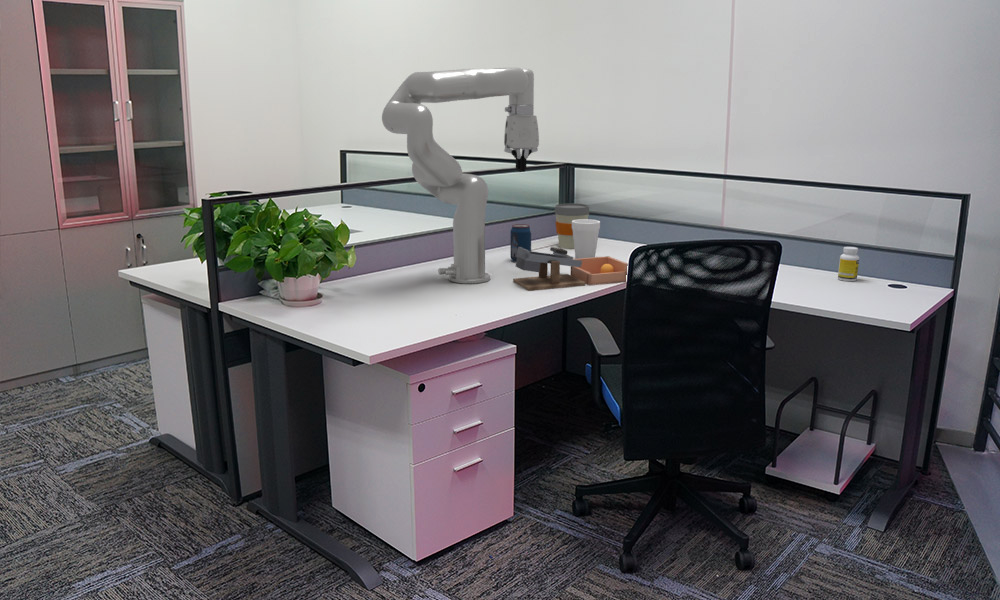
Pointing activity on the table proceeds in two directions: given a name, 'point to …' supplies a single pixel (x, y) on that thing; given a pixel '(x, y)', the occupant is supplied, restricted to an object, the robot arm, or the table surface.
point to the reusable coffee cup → (568, 222)
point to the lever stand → (549, 279)
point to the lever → (543, 259)
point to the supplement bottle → (848, 264)
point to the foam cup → (585, 237)
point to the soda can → (519, 239)
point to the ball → (607, 268)
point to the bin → (592, 270)
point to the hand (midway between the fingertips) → (521, 171)
